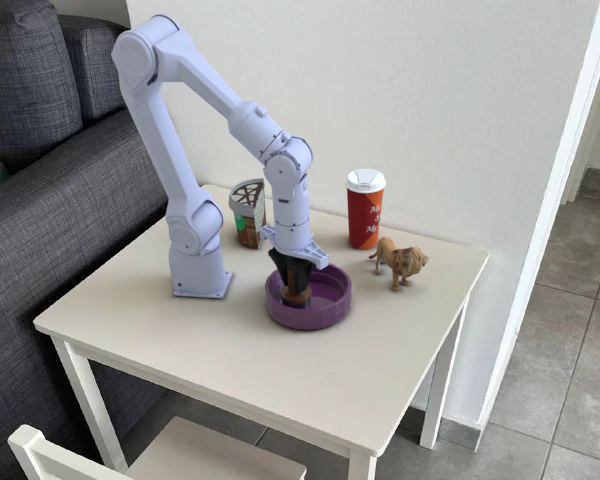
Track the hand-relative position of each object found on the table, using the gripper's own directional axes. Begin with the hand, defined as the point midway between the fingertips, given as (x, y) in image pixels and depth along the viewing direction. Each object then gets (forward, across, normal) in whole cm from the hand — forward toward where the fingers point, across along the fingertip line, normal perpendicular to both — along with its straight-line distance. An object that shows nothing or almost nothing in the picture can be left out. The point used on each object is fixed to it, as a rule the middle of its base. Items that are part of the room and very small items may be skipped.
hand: (295, 287), depth 110 cm
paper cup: (+4, +5, -24) cm, 25 cm away
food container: (+4, +24, -10) cm, 26 cm away
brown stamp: (+3, 0, 0) cm, 3 cm away
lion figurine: (+4, -8, -18) cm, 20 cm away
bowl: (+4, -2, -1) cm, 4 cm away
